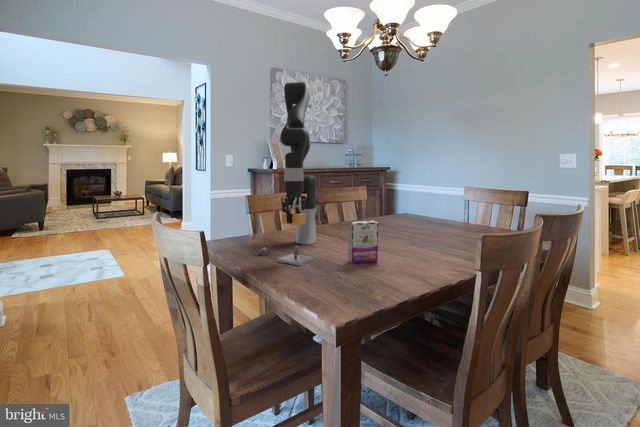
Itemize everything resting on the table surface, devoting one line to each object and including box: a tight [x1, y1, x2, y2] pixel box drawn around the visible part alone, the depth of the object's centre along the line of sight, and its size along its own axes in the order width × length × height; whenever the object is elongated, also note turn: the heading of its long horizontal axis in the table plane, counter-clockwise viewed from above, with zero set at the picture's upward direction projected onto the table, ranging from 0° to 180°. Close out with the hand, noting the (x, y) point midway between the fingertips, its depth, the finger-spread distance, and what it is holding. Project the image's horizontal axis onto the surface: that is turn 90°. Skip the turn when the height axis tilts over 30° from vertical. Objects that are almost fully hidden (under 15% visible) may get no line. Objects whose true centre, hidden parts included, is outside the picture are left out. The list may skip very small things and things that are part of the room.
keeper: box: [277, 245, 315, 267], centre depth 150 cm, size 10×11×6 cm
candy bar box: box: [347, 220, 379, 265], centre depth 149 cm, size 11×5×16 cm, turn 105°
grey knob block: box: [257, 247, 270, 257], centre depth 160 cm, size 4×3×3 cm
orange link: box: [281, 212, 306, 226], centre depth 148 cm, size 5×8×4 cm, turn 58°
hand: (293, 222), depth 148 cm, fingers closed on orange link, 5 cm apart
